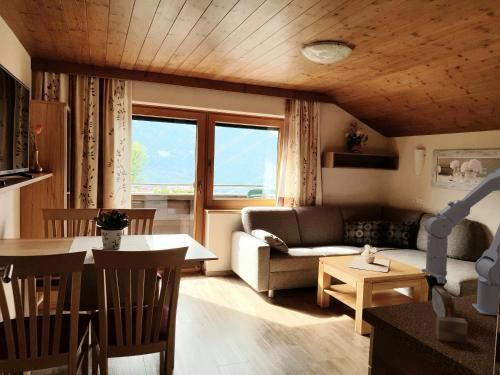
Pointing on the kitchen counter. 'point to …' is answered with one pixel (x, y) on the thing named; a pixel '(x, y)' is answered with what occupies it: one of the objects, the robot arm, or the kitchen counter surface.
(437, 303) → the tin
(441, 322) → the block
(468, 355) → the kitchen counter surface
